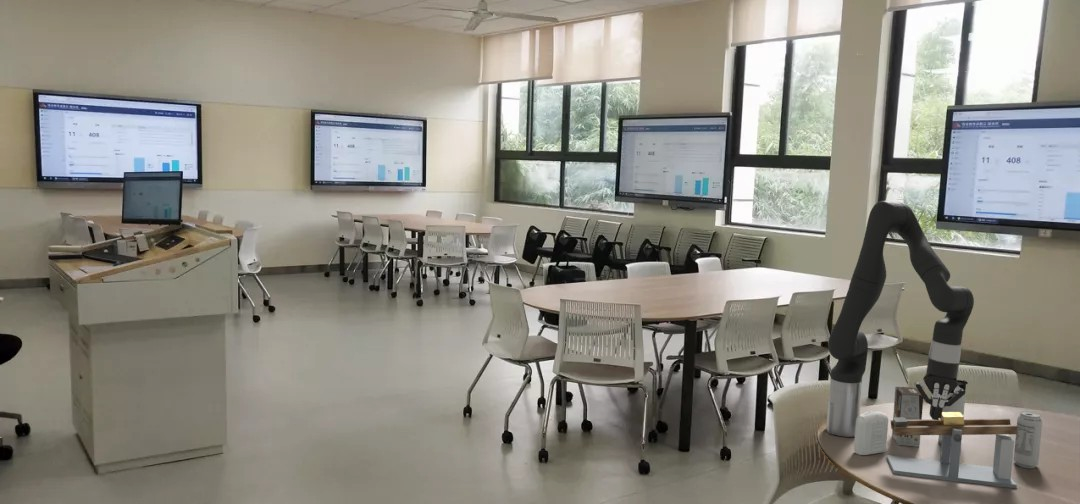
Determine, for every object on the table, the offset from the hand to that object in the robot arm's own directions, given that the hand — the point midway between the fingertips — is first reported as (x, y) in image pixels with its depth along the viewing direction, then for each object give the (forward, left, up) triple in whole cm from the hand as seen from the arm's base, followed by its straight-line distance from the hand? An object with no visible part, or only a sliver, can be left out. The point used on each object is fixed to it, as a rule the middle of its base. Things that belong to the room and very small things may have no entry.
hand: (934, 419), depth 214 cm
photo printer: (-14, +10, -15) cm, 23 cm away
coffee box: (-2, +24, -15) cm, 29 cm away
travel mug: (+11, +26, -15) cm, 32 cm away
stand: (+5, 0, -15) cm, 16 cm away
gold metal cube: (+5, 0, -2) cm, 5 cm away
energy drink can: (+28, +14, -15) cm, 34 cm away
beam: (+5, 0, -3) cm, 5 cm away
